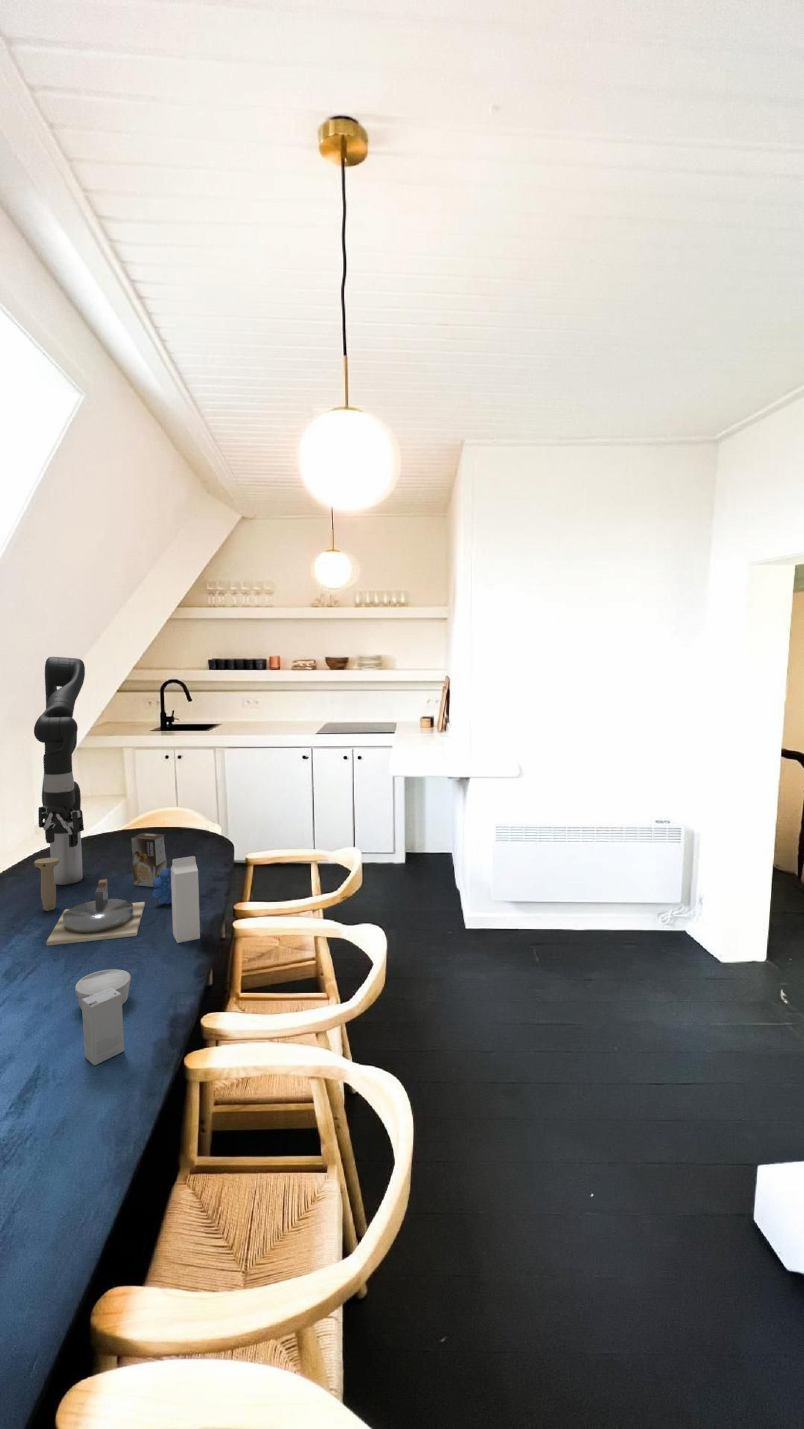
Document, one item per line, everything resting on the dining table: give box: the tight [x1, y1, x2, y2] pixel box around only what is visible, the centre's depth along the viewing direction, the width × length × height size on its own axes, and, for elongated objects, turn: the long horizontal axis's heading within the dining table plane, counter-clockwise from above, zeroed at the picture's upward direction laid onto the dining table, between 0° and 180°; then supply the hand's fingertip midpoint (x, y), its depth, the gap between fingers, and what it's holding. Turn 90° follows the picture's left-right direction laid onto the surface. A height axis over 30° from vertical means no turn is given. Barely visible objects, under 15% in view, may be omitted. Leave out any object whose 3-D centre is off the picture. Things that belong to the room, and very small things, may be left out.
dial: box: [63, 878, 134, 933], centre depth 185 cm, size 19×18×8 cm
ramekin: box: [74, 968, 132, 1010], centre depth 144 cm, size 11×11×5 cm
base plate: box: [46, 901, 146, 947], centre depth 185 cm, size 22×22×1 cm
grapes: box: [151, 868, 172, 905], centre depth 200 cm, size 12×7×12 cm, turn 112°
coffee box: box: [131, 832, 168, 888], centre depth 216 cm, size 9×6×16 cm
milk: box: [170, 855, 201, 944], centre depth 176 cm, size 6×6×22 cm
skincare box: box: [81, 988, 125, 1066], centre depth 126 cm, size 6×4×12 cm
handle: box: [34, 857, 59, 912], centre depth 195 cm, size 5×6×15 cm
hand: (61, 844), depth 185 cm, fingers open, 8 cm apart
